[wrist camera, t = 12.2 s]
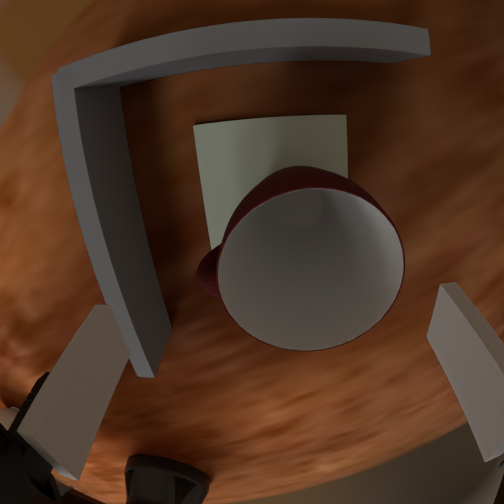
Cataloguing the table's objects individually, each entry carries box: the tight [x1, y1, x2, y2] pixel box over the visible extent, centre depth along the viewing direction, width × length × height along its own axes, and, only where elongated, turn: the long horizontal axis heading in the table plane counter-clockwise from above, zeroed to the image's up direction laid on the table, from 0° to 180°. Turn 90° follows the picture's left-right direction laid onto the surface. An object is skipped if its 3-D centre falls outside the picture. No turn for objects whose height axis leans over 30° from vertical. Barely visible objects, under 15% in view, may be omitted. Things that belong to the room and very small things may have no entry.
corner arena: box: [51, 18, 431, 378], centre depth 20 cm, size 22×20×6 cm
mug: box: [197, 166, 405, 351], centre depth 18 cm, size 11×8×10 cm
